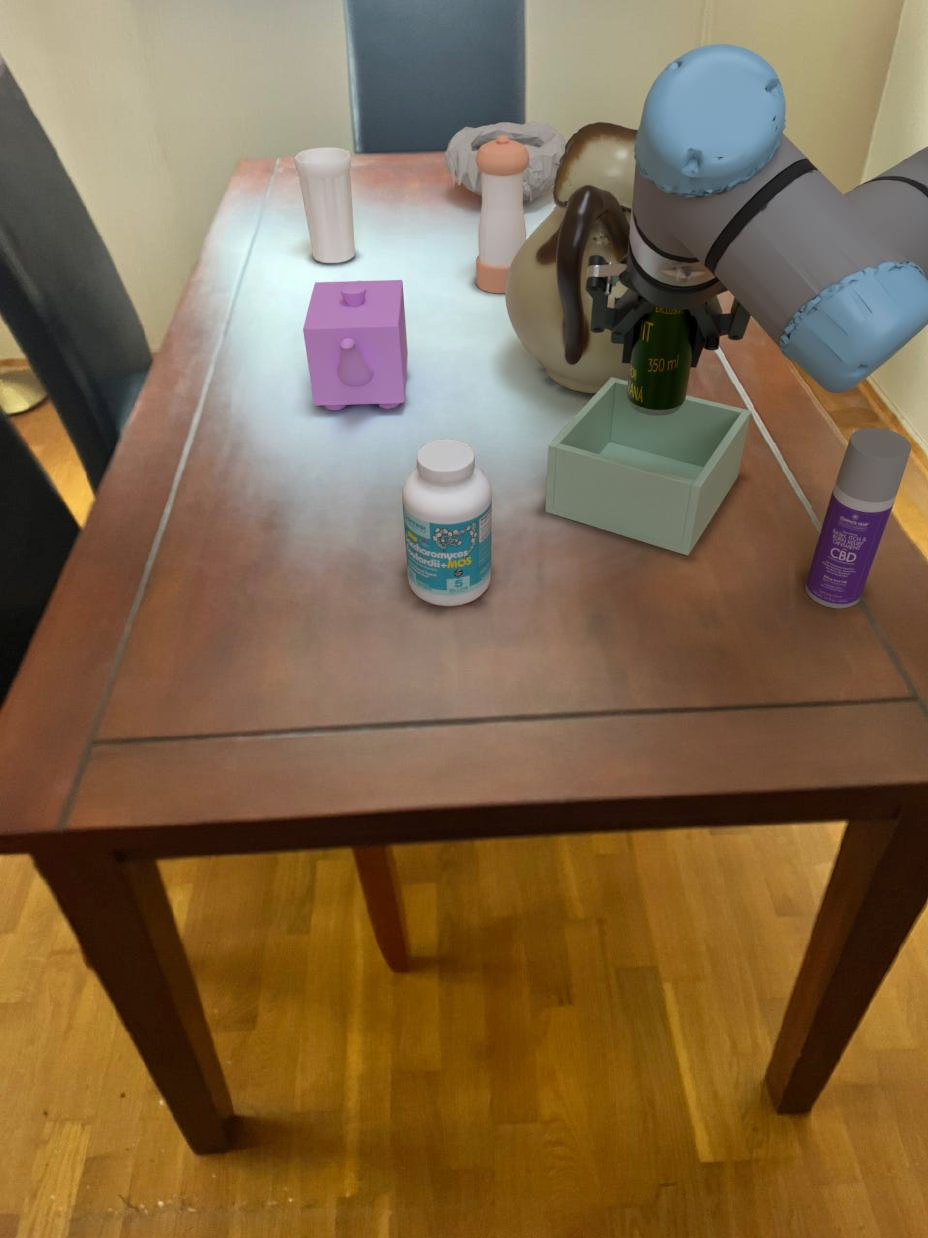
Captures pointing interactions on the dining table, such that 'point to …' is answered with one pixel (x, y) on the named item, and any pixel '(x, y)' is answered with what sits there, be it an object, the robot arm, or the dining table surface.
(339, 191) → the cup
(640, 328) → the beer can
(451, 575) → the pill bottle
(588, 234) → the pitcher
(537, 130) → the bowl
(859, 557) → the container
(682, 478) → the bin
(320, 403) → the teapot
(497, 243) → the pepper shaker
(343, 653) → the dining table surface
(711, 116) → the robot arm
